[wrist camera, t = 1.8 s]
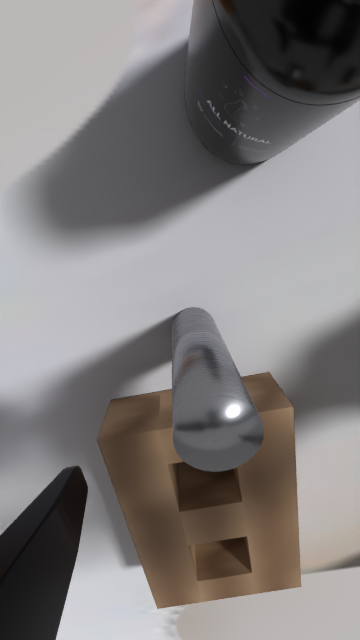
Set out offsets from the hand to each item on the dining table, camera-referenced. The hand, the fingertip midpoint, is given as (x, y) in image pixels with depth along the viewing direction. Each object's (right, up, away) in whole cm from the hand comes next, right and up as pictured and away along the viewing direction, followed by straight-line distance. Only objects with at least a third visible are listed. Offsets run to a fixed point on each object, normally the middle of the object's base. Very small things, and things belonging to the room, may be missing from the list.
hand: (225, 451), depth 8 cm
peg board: (+1, -9, +15) cm, 17 cm away
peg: (0, +3, +10) cm, 11 cm away
